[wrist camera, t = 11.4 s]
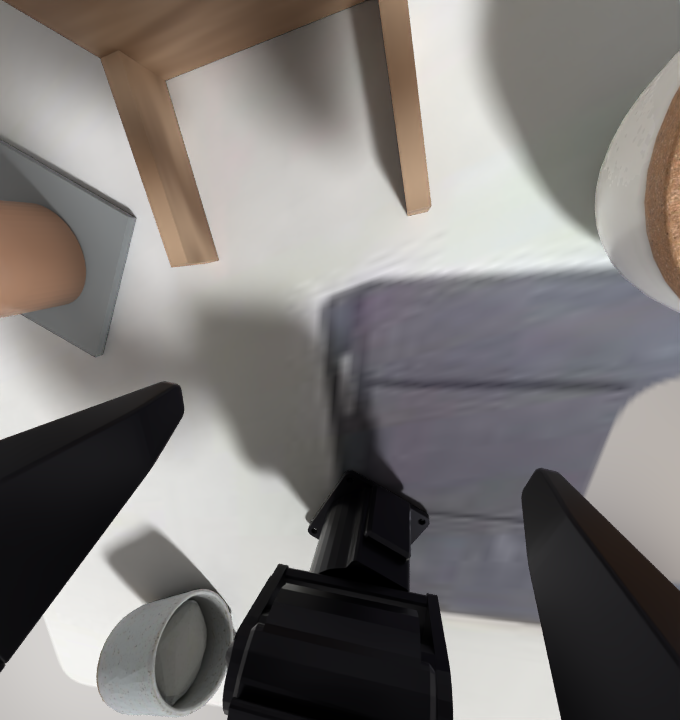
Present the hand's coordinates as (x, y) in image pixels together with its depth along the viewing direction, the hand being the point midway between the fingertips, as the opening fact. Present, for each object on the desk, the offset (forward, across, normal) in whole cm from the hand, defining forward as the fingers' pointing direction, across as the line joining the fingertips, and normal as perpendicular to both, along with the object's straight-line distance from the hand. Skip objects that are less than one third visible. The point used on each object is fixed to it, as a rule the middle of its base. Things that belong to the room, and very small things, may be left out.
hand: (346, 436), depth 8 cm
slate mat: (+12, +22, +2) cm, 25 cm away
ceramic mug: (+6, +11, +32) cm, 35 cm away
